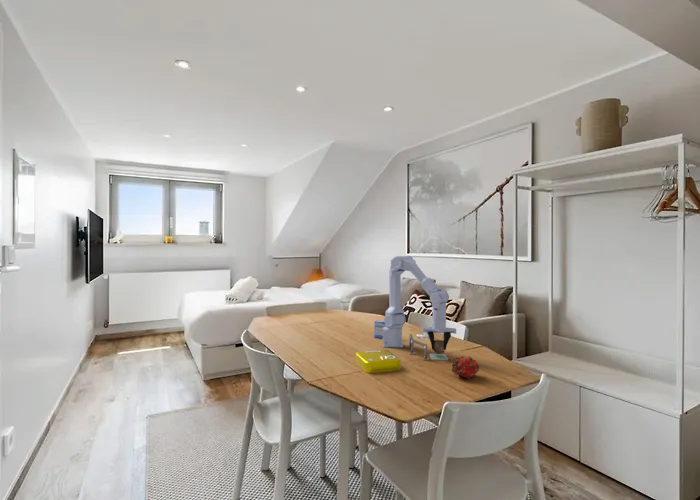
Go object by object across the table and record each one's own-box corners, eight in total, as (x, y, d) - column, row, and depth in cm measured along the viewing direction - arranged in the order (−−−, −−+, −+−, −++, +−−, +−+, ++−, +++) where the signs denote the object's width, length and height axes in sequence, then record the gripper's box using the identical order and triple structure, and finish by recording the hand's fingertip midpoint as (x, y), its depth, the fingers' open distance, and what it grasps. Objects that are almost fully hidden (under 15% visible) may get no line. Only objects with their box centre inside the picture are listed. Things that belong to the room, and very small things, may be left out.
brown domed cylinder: (433, 353, 160) (433, 342, 160) (432, 350, 165) (432, 339, 165) (445, 354, 160) (445, 342, 160) (443, 351, 165) (443, 339, 165)
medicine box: (373, 337, 195) (374, 321, 195) (375, 335, 200) (375, 319, 200) (388, 339, 193) (388, 322, 193) (390, 337, 197) (390, 320, 197)
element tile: (387, 359, 160) (387, 348, 160) (402, 370, 146) (402, 358, 146) (354, 362, 155) (354, 350, 155) (366, 374, 141) (366, 361, 141)
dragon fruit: (449, 382, 137) (475, 383, 141) (462, 375, 131) (489, 376, 135) (443, 359, 142) (469, 361, 146) (456, 351, 136) (482, 353, 140)
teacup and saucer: (415, 338, 196) (415, 331, 196) (419, 335, 203) (419, 328, 203) (431, 341, 192) (431, 333, 192) (435, 337, 199) (435, 330, 199)
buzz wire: (411, 359, 158) (411, 344, 158) (407, 346, 179) (408, 333, 179) (428, 360, 158) (429, 345, 158) (423, 347, 178) (423, 333, 178)
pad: (431, 359, 159) (431, 358, 159) (429, 354, 167) (429, 353, 167) (448, 360, 158) (448, 359, 158) (445, 354, 166) (445, 353, 166)
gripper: (423, 319, 159) (422, 351, 159) (458, 320, 158) (457, 352, 158) (421, 316, 166) (421, 346, 166) (454, 317, 165) (454, 347, 165)
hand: (438, 349), depth 162 cm, fingers closed on brown domed cylinder, 4 cm apart
